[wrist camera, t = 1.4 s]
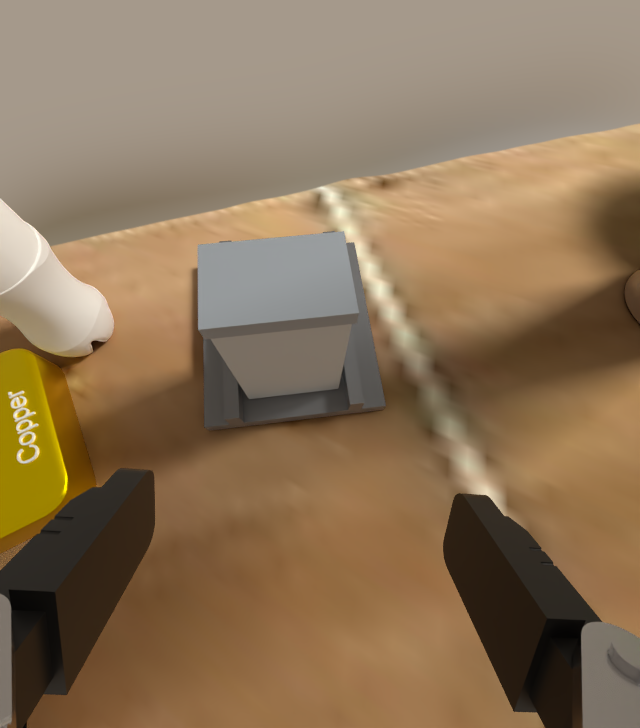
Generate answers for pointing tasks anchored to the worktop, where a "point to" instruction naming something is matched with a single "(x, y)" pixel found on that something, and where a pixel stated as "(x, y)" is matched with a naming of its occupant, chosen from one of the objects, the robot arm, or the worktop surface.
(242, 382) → the grey tall block
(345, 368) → the track
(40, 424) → the element tile
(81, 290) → the water bottle
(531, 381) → the worktop surface
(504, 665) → the robot arm
